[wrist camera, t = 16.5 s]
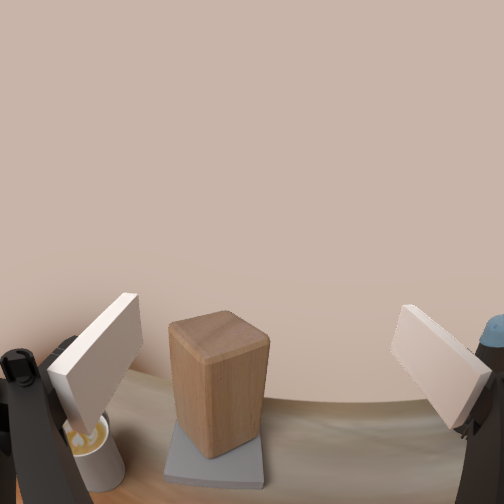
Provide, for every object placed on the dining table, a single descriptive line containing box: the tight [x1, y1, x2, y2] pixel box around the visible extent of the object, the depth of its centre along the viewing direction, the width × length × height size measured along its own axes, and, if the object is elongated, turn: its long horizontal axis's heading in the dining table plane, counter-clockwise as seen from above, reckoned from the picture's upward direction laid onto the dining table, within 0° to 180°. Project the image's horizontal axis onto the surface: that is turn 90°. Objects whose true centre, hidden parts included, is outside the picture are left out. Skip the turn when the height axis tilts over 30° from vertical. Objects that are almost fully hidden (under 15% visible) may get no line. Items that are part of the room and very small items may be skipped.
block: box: [168, 311, 270, 459], centre depth 37 cm, size 10×10×20 cm
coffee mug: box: [63, 410, 125, 492], centre depth 28 cm, size 13×10×10 cm
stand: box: [164, 419, 264, 489], centre depth 36 cm, size 14×14×2 cm
